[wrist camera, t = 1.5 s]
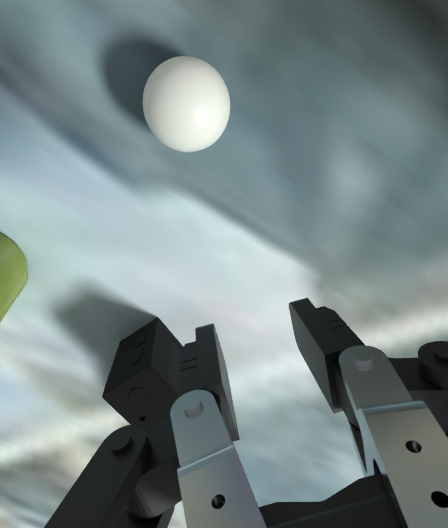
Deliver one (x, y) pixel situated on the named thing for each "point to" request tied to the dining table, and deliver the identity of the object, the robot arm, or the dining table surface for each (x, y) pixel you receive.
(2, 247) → the plant pot
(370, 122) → the dining table surface
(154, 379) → the digital camera
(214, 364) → the robot arm
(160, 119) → the cue ball
